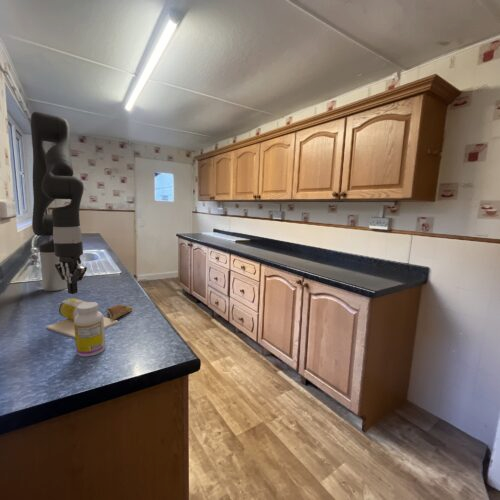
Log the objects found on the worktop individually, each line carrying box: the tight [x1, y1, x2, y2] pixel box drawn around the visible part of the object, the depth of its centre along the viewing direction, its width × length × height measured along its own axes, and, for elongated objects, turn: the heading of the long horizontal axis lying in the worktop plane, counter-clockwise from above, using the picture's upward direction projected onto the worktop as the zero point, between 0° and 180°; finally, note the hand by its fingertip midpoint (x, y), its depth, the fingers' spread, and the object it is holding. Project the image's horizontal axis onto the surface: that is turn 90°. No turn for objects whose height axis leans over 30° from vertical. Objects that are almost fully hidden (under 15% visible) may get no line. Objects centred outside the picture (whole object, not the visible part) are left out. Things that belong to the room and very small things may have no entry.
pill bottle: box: [58, 297, 89, 320], centre depth 89 cm, size 6×6×12 cm
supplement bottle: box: [74, 301, 106, 357], centre depth 71 cm, size 7×7×13 cm
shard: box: [106, 304, 133, 320], centre depth 95 cm, size 11×8×2 cm
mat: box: [45, 316, 119, 339], centre depth 87 cm, size 16×13×1 cm
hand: (73, 293), depth 88 cm, fingers closed
